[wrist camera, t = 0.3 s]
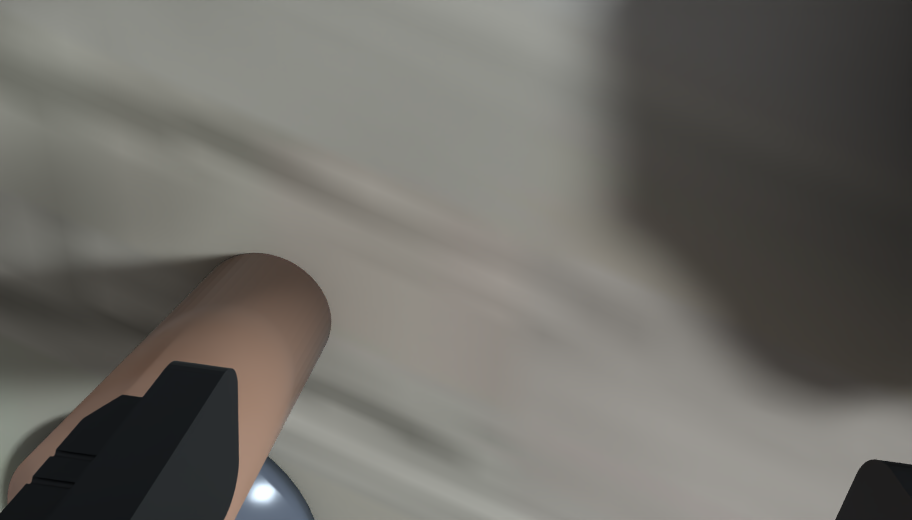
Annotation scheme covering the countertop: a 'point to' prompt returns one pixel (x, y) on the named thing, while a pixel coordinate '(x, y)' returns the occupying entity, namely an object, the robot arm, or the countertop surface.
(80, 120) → the countertop surface
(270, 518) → the slate dish
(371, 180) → the countertop surface
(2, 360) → the countertop surface
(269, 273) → the canister
